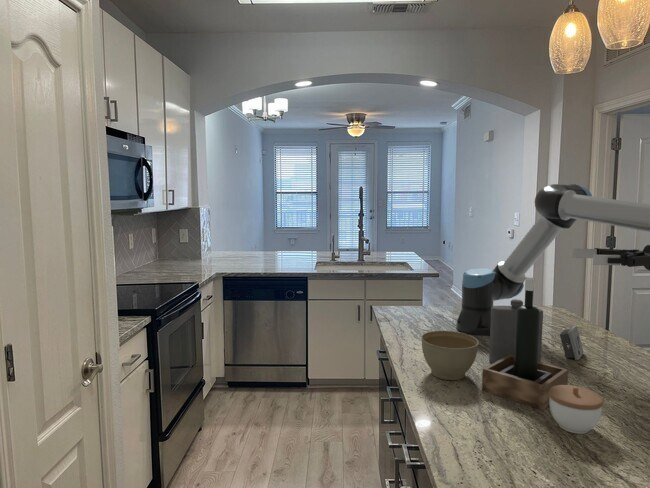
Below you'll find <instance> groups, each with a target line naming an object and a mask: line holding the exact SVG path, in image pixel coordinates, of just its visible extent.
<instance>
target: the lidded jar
mask: <svg viewBox="0 0 650 488" xmlns="http://www.w3.org/2000/svg"><path fill="white" fill-rule="evenodd" d="M603 405H604V399H603V397H602V396H601V395H600V394H598V393H597V392H595V391H593V390H591V389H588V388H586V387H585V388H584V387H582V386H578V385H572V384H567V385H557V386H553V387H551V388H550V389H549V412H550V415H551V417H552V418H553V420H554V421H555V422H556V423H557V424H558V426H559V427H560V428H561V429H562V430H564V431H565V432H569V433H572V434H577V435H581V434H582V435H584V434H587V433H589V431H591V430H592V429H594V428H595V427H596V426H597V425H598V424H599V422H600V419H601V416H602V413H603V412H602V411H603Z"/></svg>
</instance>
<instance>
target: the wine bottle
mask: <svg viewBox="0 0 650 488" xmlns="http://www.w3.org/2000/svg"><path fill="white" fill-rule="evenodd" d="M534 289H535V277H534V276H533V277H532V276H525V281H524V290H525V291H524V304H523V306H520V307H519V308H518V309H517V312H516V334H515V356H514V376H517V377H521V378H524V379H528V380H531V381H535V380H537V369H538V349H539V329H540V311H539V310H538V309H539V308H538V309H537V307H536V306H534V291H535V290H534Z"/></svg>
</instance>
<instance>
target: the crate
mask: <svg viewBox="0 0 650 488" xmlns="http://www.w3.org/2000/svg"><path fill="white" fill-rule="evenodd" d="M481 380H482V383H481V390H482V391H484V392H486V393H490V394H493V395H495V396H499V397H501V398H504V399H507V400H510V401H513V402H516V403H520V404H523V405H525V406H528V407H532V408H534V409H538V410H541V411H544V410H545V409H546V408H548V407H550V405H549V389H550V388H551V387H553V386H557V385H568V380H569V369H568V368H563V367H561V366H556V365H552V364H547V363H543V362H542V361H541V362H538V369H537V380H535V381H531V380H528V379H524V378H521V377H517V376H514V355H508V356H506V357H504V358H502V359H500V360H498V361H496V362H495V363H491V364H488V365H487V366H485V367H484V368H482V377H481Z"/></svg>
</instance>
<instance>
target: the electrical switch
mask: <svg viewBox="0 0 650 488" xmlns="http://www.w3.org/2000/svg"><path fill="white" fill-rule="evenodd" d="M579 332H580V331H579V329H578V327H577V325H574V326H572V328H567V329H566V328H565V329H564V330H562V332H561V333H559V337H560V340H561V344H562V345H561V346H562V348H563V352H564V353H563V354H564V357H565V358H566V359H574V361H580V359H581V357H582V356H583V355H584V348H583V344H582V340H581V337H580V333H579Z"/></svg>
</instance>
